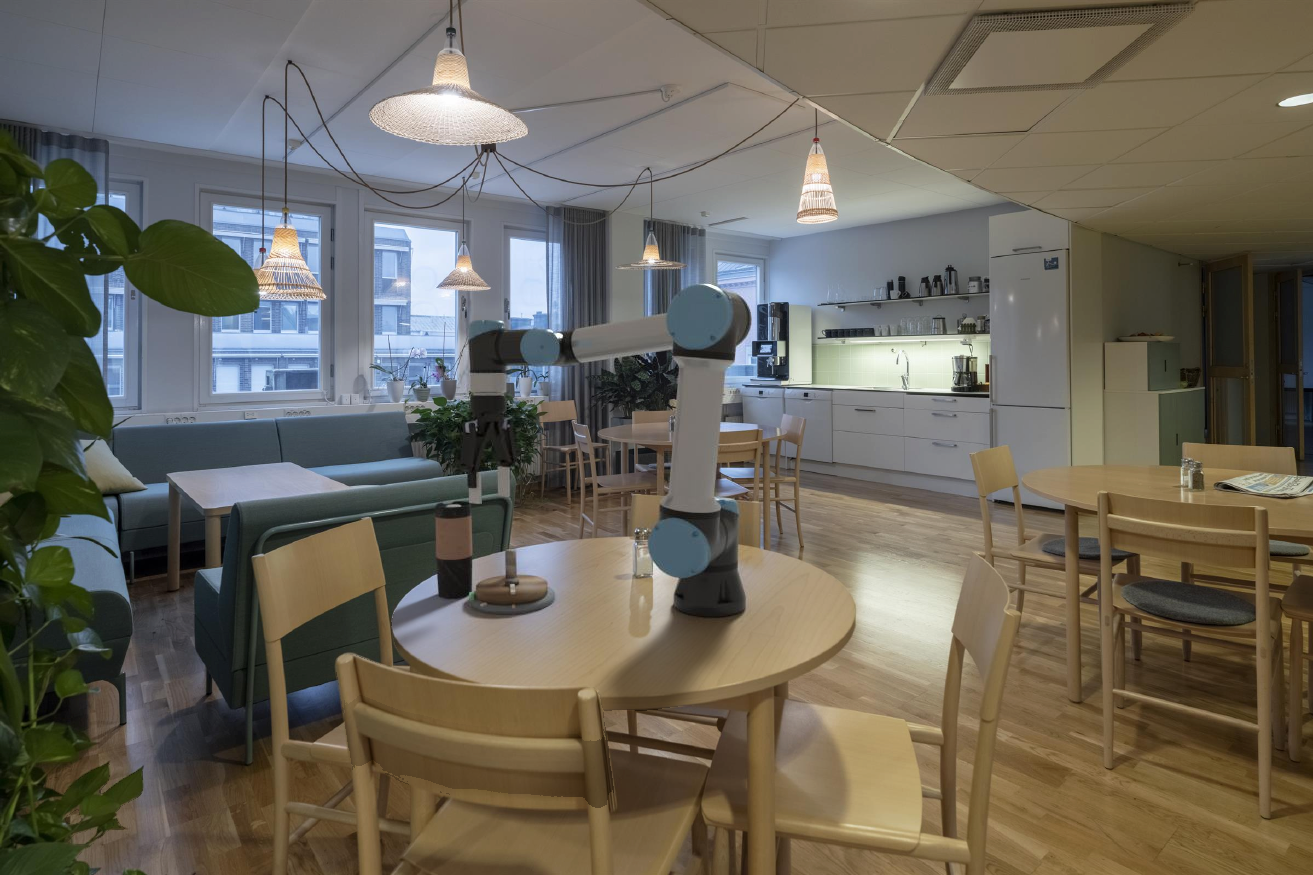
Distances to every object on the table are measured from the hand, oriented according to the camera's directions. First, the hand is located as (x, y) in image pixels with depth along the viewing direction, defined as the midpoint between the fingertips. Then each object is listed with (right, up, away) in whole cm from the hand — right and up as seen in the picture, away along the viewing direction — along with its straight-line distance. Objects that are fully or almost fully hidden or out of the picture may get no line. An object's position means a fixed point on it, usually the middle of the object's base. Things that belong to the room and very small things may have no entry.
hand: (490, 499), depth 157 cm
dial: (+5, -20, -1) cm, 21 cm away
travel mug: (-8, -21, +4) cm, 23 cm away
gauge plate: (+5, -22, 0) cm, 22 cm away
